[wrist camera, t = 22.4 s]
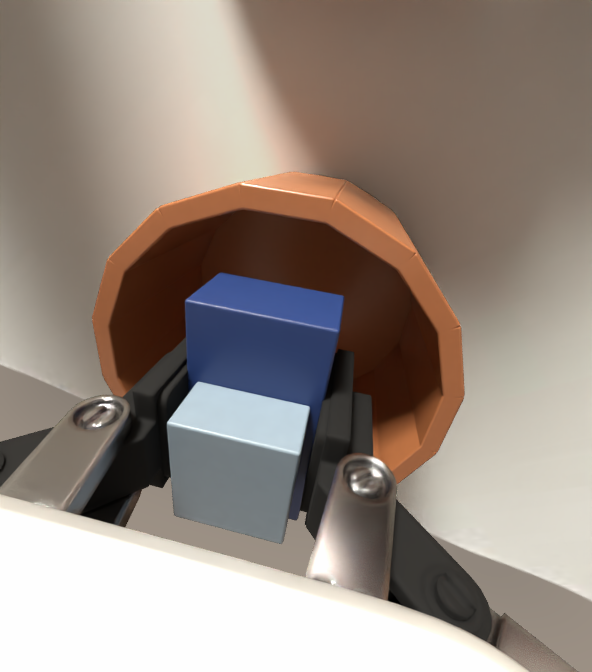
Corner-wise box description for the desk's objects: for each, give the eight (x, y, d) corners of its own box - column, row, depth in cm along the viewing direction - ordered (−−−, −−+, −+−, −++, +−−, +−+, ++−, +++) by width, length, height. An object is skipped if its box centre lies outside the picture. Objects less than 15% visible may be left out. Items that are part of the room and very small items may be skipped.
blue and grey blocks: (309, 454, 13) (287, 576, 9) (221, 433, 13) (165, 543, 10) (345, 287, 10) (334, 372, 6) (227, 265, 10) (142, 331, 6)
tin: (196, 367, 20) (119, 466, 14) (192, 154, 15) (58, 152, 8) (385, 409, 19) (397, 536, 13) (459, 196, 14) (547, 232, 7)
